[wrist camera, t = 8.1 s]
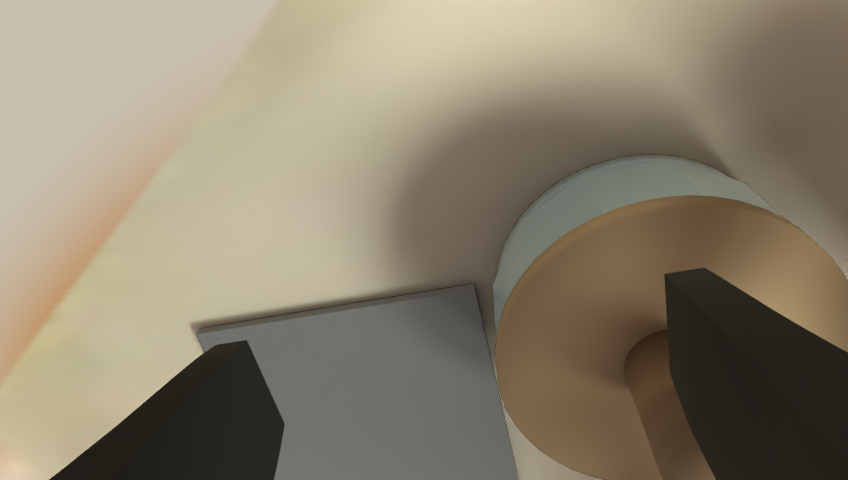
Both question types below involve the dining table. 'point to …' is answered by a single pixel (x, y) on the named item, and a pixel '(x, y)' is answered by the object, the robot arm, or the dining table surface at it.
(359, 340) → the mat
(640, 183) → the bowl
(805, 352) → the robot arm
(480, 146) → the dining table surface
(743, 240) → the lid
